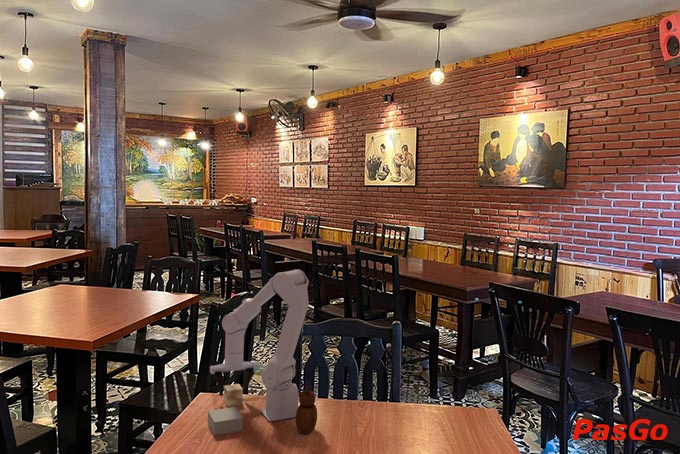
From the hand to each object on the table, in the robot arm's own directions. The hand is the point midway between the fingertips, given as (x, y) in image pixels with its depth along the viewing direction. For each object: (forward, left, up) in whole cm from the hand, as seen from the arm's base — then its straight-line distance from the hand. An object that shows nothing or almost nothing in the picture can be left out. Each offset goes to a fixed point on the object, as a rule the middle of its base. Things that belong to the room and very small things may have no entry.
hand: (233, 393), depth 162 cm
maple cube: (0, 0, -3) cm, 3 cm away
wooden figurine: (-14, +27, -3) cm, 31 cm away
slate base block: (+6, +17, -3) cm, 18 cm away
